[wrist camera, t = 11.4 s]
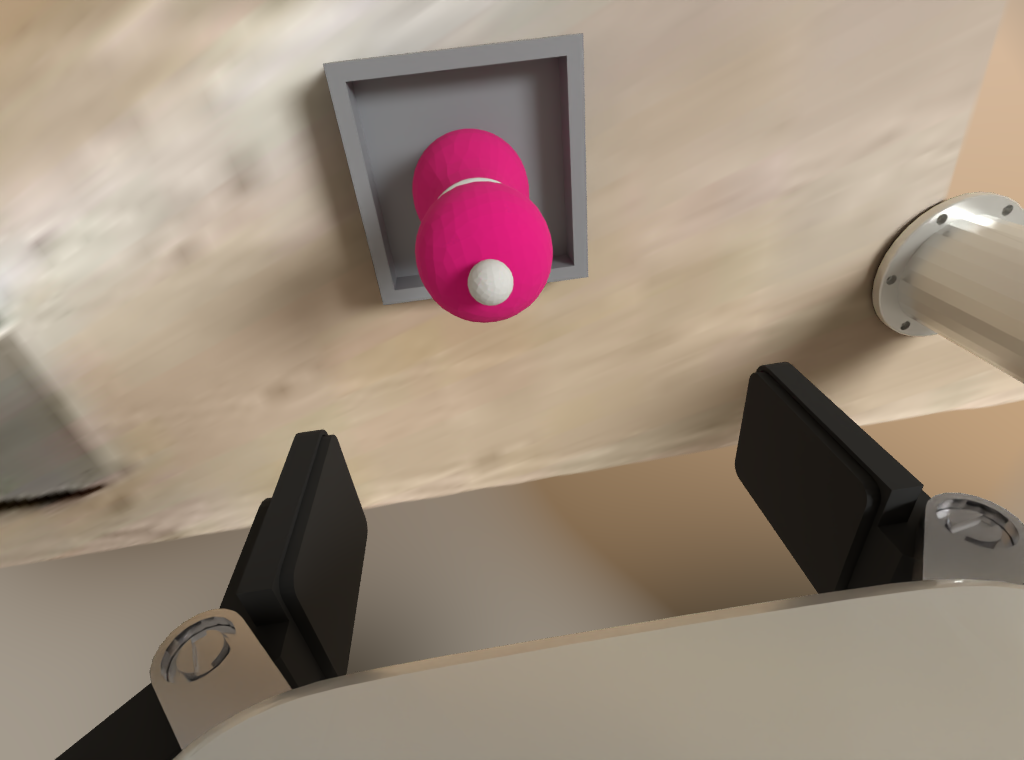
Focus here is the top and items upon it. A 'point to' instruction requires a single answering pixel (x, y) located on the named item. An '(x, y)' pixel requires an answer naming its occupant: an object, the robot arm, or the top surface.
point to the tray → (464, 105)
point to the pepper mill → (478, 228)
